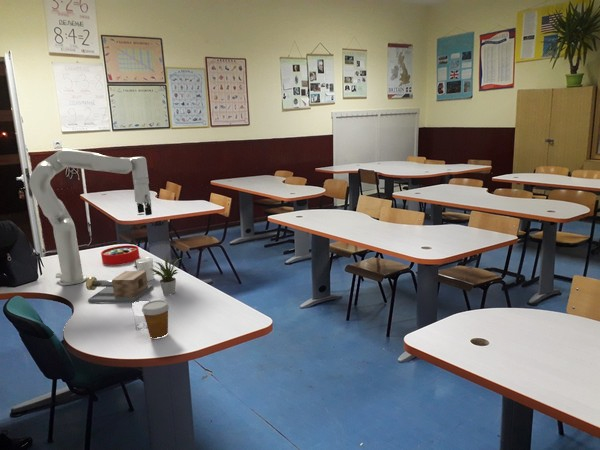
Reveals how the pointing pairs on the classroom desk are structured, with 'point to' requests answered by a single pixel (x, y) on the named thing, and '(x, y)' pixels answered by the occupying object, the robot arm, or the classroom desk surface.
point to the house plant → (167, 277)
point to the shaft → (97, 283)
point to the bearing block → (129, 284)
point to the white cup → (146, 267)
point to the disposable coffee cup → (156, 317)
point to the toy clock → (120, 255)
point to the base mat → (108, 296)
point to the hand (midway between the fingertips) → (144, 213)
